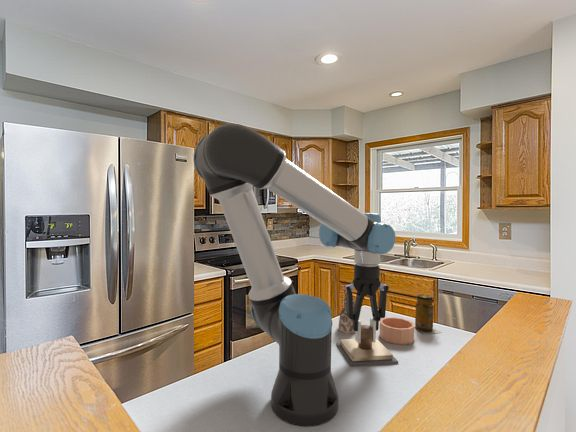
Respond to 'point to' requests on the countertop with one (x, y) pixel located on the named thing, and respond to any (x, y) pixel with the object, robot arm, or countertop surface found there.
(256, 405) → the countertop surface
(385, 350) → the lid
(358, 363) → the mat
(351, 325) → the figurine
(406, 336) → the bowl
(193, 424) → the countertop surface
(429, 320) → the condiment
